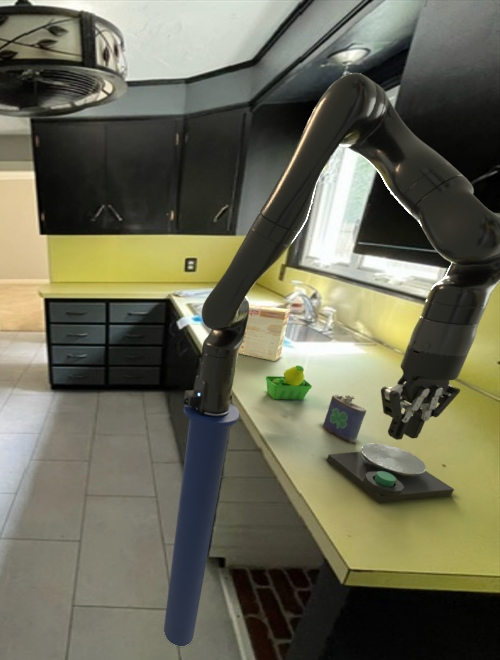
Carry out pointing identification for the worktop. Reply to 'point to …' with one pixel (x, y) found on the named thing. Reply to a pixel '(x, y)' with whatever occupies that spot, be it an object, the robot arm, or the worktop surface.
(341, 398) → the flask
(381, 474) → the tare button
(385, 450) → the scale pan
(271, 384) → the fruit basket
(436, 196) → the robot arm
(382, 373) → the worktop surface
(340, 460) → the scale
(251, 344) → the coffeecake box
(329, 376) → the worktop surface
